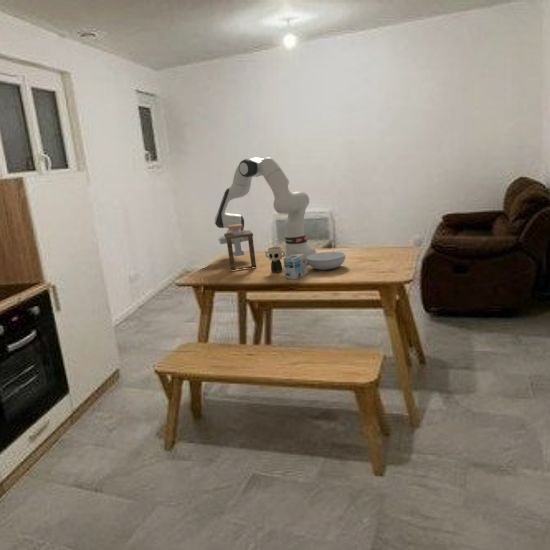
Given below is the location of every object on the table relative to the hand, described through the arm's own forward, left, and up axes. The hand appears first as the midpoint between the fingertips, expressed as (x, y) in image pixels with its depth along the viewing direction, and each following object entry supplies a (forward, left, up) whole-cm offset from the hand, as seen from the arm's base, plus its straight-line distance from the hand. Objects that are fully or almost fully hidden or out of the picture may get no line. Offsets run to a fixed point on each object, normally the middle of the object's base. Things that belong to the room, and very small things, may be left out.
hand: (237, 240), depth 293 cm
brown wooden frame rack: (-12, +6, -14) cm, 19 cm away
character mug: (-39, +1, -14) cm, 41 cm away
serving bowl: (-58, -18, -14) cm, 62 cm away
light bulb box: (-57, +2, -14) cm, 58 cm away
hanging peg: (+1, 0, -9) cm, 9 cm away
